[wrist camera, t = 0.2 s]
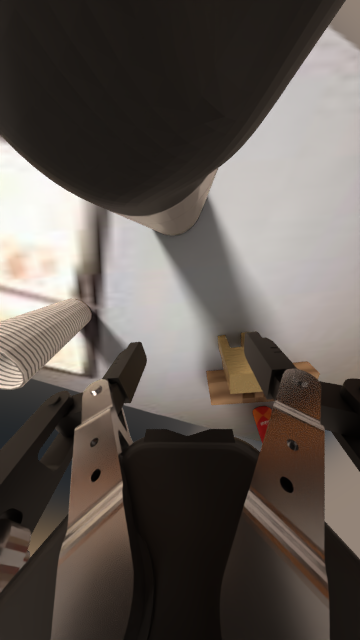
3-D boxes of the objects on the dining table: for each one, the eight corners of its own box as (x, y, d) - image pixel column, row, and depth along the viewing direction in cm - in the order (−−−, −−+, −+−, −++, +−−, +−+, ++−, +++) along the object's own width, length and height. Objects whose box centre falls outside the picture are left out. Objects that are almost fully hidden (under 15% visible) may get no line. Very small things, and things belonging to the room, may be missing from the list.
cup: (62, 283, 27) (-65, 322, 13) (103, 307, 29) (29, 363, 16) (53, 314, 31) (-54, 370, 17) (91, 334, 33) (21, 398, 19)
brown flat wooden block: (206, 371, 36) (208, 383, 33) (307, 361, 33) (319, 373, 30) (209, 392, 41) (211, 405, 37) (300, 386, 37) (310, 398, 34)
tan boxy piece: (216, 334, 31) (229, 375, 21) (249, 329, 30) (279, 370, 20) (218, 350, 33) (230, 393, 23) (249, 346, 32) (275, 390, 22)
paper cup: (280, 407, 42) (318, 474, 30) (266, 419, 46) (295, 484, 33) (256, 401, 41) (285, 468, 29) (244, 415, 45) (265, 479, 33)
